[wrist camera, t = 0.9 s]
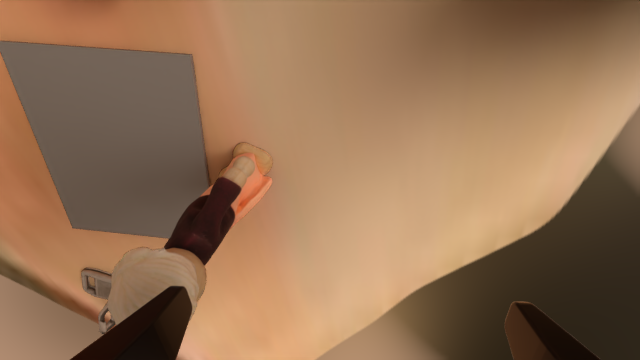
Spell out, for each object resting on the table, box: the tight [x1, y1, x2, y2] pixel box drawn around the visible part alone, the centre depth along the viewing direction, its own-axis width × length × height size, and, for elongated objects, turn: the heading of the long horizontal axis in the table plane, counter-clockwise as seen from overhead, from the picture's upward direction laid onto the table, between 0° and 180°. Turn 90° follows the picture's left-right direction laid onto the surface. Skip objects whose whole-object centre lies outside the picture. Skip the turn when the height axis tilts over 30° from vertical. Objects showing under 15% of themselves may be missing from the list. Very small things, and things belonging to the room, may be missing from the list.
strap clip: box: [81, 268, 116, 334], centre depth 27 cm, size 8×3×4 cm, turn 73°
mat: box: [0, 41, 210, 239], centre depth 22 cm, size 12×14×1 cm
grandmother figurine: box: [108, 143, 273, 325], centre depth 16 cm, size 8×4×13 cm, turn 153°
